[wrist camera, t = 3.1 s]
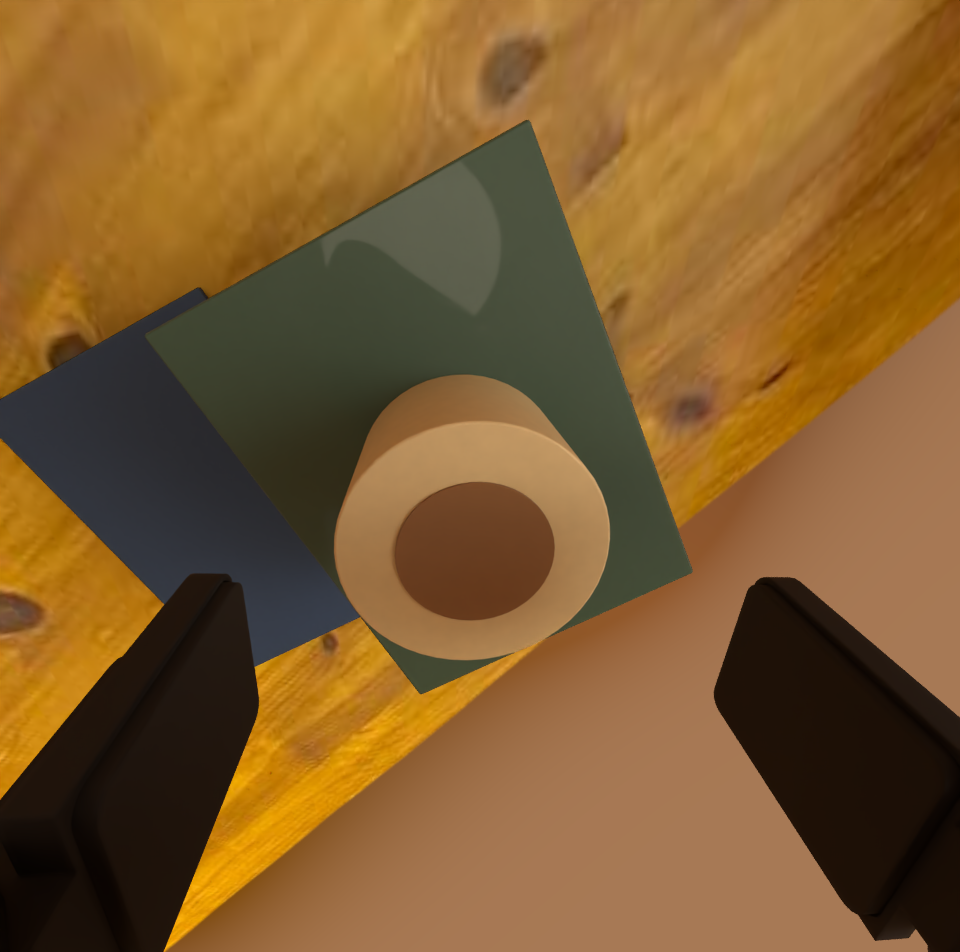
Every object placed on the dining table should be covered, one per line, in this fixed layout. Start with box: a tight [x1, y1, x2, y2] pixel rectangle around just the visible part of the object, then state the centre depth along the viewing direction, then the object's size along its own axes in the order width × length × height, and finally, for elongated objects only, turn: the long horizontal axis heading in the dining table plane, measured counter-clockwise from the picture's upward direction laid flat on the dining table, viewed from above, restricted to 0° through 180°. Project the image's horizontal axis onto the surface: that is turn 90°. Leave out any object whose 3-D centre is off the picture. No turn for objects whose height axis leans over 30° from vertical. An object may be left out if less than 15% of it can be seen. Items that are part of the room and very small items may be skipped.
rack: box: [145, 120, 692, 694], centre depth 21 cm, size 12×16×11 cm
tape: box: [334, 375, 610, 660], centre depth 14 cm, size 7×7×5 cm
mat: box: [0, 288, 360, 667], centre depth 27 cm, size 13×20×1 cm, turn 26°
